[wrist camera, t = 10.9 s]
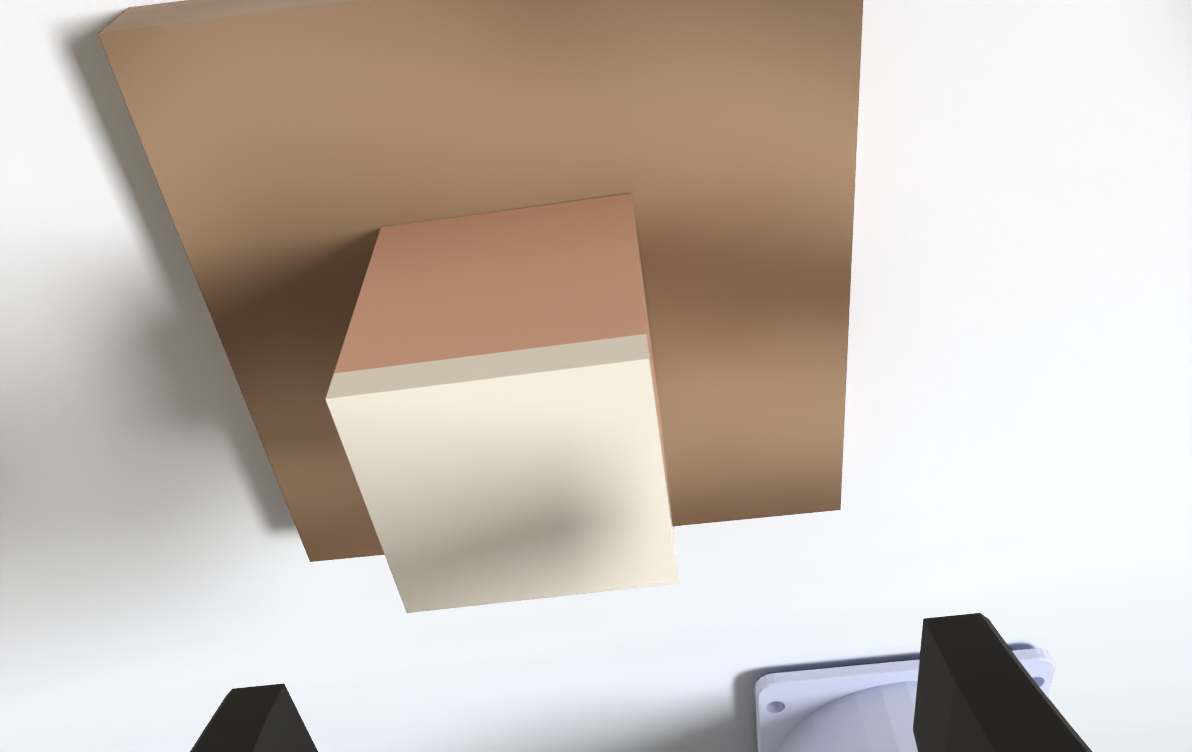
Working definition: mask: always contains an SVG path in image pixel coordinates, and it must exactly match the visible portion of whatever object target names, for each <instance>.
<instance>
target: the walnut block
mask: <svg viewBox="0 0 1192 752" xmlns="http://www.w3.org/2000/svg"><path fill="white" fill-rule="evenodd" d="M862 14H863V0H186V1H178V2H170V3H162V4H154V5H146V6H138V7H129V8H128V9H126V10H125V11H124V12H123V13H122V14H121V15H119V16H118V17H117V18H116V19H115V20H114V21H112V22H111V23H110V24H109V25H108V26H107V27H105V28H104V29H103V30H102V31H101V32H100V33H98V36H99V38H100V41H101V43H102V46H103V48H104V51H105V53H106V55H107V58H108V60H109V63H110V65H111V68H112V70H113V73H114V75H115V78H116V80H117V83H118V85H119V88H120V90H121V93H122V95H123V98H124V100H125V103H126V105H127V108H128V110H129V113H130V115H131V118H132V120H133V123H134V125H135V128H136V130H137V133H138V135H139V138H140V140H141V143H142V145H143V147H144V150H145V152H146V155H147V157H148V160H149V162H150V165H151V167H152V170H153V172H154V175H155V177H156V180H157V182H158V185H159V187H160V190H161V192H162V195H163V197H164V200H165V202H166V205H167V207H168V210H169V212H170V215H171V217H172V220H173V222H174V225H175V227H176V230H177V232H178V235H179V237H180V239H181V242H182V244H183V247H184V249H185V252H186V254H187V257H188V259H189V262H190V264H191V267H192V269H193V272H194V274H195V277H196V279H197V282H198V284H199V287H200V289H201V292H202V294H203V297H204V299H205V302H206V304H207V307H208V309H209V312H210V314H211V317H212V319H213V322H214V324H215V327H216V329H217V331H218V334H219V336H220V339H221V341H222V344H223V346H224V349H225V351H226V354H227V356H228V359H229V361H230V364H231V366H232V369H233V371H234V374H235V376H236V379H237V381H238V384H239V386H240V389H241V391H242V394H243V396H244V399H245V401H246V404H247V406H248V409H249V411H250V414H251V416H252V419H253V421H254V424H255V426H256V428H257V431H258V433H259V436H260V438H261V441H262V443H263V446H264V448H265V451H266V453H267V456H268V458H269V461H270V463H271V466H272V468H273V471H274V473H275V476H276V478H277V481H278V483H279V486H280V488H281V491H282V493H283V496H284V498H285V501H286V503H287V506H288V508H289V511H290V513H291V516H292V518H293V520H294V523H295V525H296V528H297V530H298V533H299V535H300V538H301V540H302V543H303V545H304V548H305V550H306V553H307V555H308V558H309V560H310V562H313V561H323V560H334V559H344V558H354V557H364V556H374V555H385V554H384V552H383V549H382V546H381V544H380V541H379V538H378V536H377V533H376V531H375V528H374V525H373V523H372V520H371V517H370V515H369V512H368V509H367V507H366V504H365V502H364V499H363V496H362V494H361V491H360V488H359V486H358V483H357V481H356V478H355V475H354V473H353V470H352V467H351V465H350V462H349V460H348V457H347V454H346V452H345V449H344V446H343V444H342V441H341V439H340V436H339V433H338V431H337V428H336V425H335V423H334V420H333V418H332V415H331V412H330V410H329V407H328V404H327V402H326V396H327V393H328V390H329V387H330V384H331V381H332V377H333V374H334V371H335V368H336V365H337V362H338V359H339V356H340V353H341V350H342V346H343V343H344V340H345V337H346V334H347V331H348V328H349V325H350V322H351V319H352V315H353V312H354V309H355V306H356V303H357V300H358V297H359V294H360V291H361V288H362V285H363V281H364V278H365V275H366V272H367V269H368V266H369V263H370V260H371V257H372V254H373V250H374V247H375V244H376V241H377V238H378V235H379V232H380V229H381V227H388V226H395V225H403V224H410V223H417V222H425V221H432V220H439V219H447V218H454V217H461V216H469V215H476V214H483V213H491V212H498V211H505V210H513V209H520V208H527V207H535V206H542V205H549V204H557V203H564V202H571V201H578V200H586V199H593V198H600V197H608V196H615V195H622V194H630V193H632V200H633V208H634V215H635V223H636V231H637V238H638V246H639V253H640V261H641V269H642V276H643V284H644V291H645V299H646V306H647V314H648V322H649V329H650V337H651V344H652V352H653V360H654V367H655V375H656V382H657V390H658V398H659V407H660V416H661V425H662V434H663V443H664V452H665V461H666V470H667V479H668V488H669V497H670V506H671V515H672V524H673V526H680V525H690V524H701V523H711V522H721V521H731V520H741V519H752V518H762V517H772V516H782V515H792V514H803V513H813V512H823V511H833V510H840V507H841V484H842V462H843V439H844V417H845V395H846V372H847V350H848V327H849V305H850V283H851V260H852V238H853V216H854V193H855V171H856V148H857V126H858V104H859V81H860V59H861V37H862Z"/></svg>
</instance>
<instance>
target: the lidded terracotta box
mask: <svg viewBox="0 0 1192 752" xmlns="http://www.w3.org/2000/svg"><path fill="white" fill-rule="evenodd" d="M326 402H327V404H328V407H329V410H330V412H331V415H332V418H333V420H334V423H335V425H336V428H337V431H338V433H339V436H340V439H341V441H342V444H343V446H344V449H345V452H346V454H347V457H348V460H349V462H350V465H351V467H352V470H353V473H354V475H355V478H356V481H357V483H358V486H359V488H360V491H361V494H362V496H363V499H364V502H365V504H366V507H367V509H368V512H369V515H370V517H371V520H372V523H373V525H374V528H375V531H376V533H377V536H378V538H379V541H380V544H381V546H382V549H383V552H384V554H385V557H386V559H387V562H388V565H389V567H390V570H391V573H392V575H393V578H394V580H395V583H396V586H397V588H398V591H399V594H400V596H401V599H402V601H403V604H404V607H405V609H406V612H407V613H411V612H420V611H429V610H439V609H448V608H457V607H466V606H475V605H484V604H493V603H502V602H512V601H521V600H530V599H539V598H548V597H557V596H566V595H575V594H585V593H594V592H603V591H612V590H621V589H630V588H639V587H648V586H658V585H667V584H676V583H679V577H678V568H677V559H676V551H675V542H674V533H673V524H672V515H671V506H670V497H669V488H668V479H667V470H666V461H665V452H664V443H663V434H662V425H661V416H660V407H659V398H658V390H657V382H656V375H655V367H654V360H653V352H652V344H651V337H650V329H649V322H648V314H647V306H646V299H645V291H644V284H643V276H642V269H641V261H640V253H639V246H638V238H637V231H636V223H635V215H634V208H633V200H632V193H630V194H622V195H615V196H608V197H600V198H593V199H586V200H578V201H571V202H564V203H557V204H549V205H542V206H535V207H527V208H520V209H513V210H505V211H498V212H491V213H483V214H476V215H469V216H461V217H454V218H447V219H439V220H432V221H425V222H417V223H410V224H403V225H395V226H388V227H381V229H380V232H379V235H378V238H377V241H376V244H375V247H374V250H373V254H372V257H371V260H370V263H369V266H368V269H367V272H366V275H365V278H364V281H363V285H362V288H361V291H360V294H359V297H358V300H357V303H356V306H355V309H354V312H353V315H352V319H351V322H350V325H349V328H348V331H347V334H346V337H345V340H344V343H343V346H342V350H341V353H340V356H339V359H338V362H337V365H336V368H335V371H334V374H333V377H332V381H331V384H330V387H329V390H328V393H327V396H326Z"/></svg>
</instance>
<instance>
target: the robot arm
mask: <svg viewBox="0 0 1192 752" xmlns="http://www.w3.org/2000/svg"><path fill="white" fill-rule="evenodd" d="M1054 671H1055V663H1054V661H1053V659H1052V657H1051V654H1050V653H1049V652H1048V651H1046V650H1043V649H1023V650H1013V651H1012V650H1011V649H1010V648H1009V646H1008V645H1007V644H1006V642H1005V641H1004V640H1003V638H1002V637H1001V636H1000V634H999V633H998V631H997V630H996V629H995V627H994V626H993V624H992V623H991V622H990V620H989V619H988V618H986V617H985V616H983V615H982V614H981V613H975V614H966V615H956V616H946V617H936V618H926V619H923V629H922V640H921V650H920V659H918V660H908V661H897V662H887V663H876V664H866V665H855V666H845V667H834V668H824V669H813V670H803V671H792V672H781V673H772V674H767V675H765V676H763V677H761V678H760V679H759V680H758V681H757V682H756V685H755V700H756V722H757V745H758V752H1092V751H1091V749H1090V748H1089V747H1088V746H1087V745H1086V744H1085V742H1084V741H1083V740H1082V739H1081V738H1080V736H1079V735H1078V734H1077V733H1076V732H1075V730H1074V729H1073V728H1072V727H1071V726H1070V724H1069V723H1068V722H1067V721H1066V719H1065V718H1064V717H1063V716H1062V714H1061V713H1060V712H1059V711H1058V709H1057V708H1056V707H1055V706H1054V705H1053V703H1052V702H1051V701H1050V700H1049V698H1048V697H1049V693H1050V688H1051V684H1052V680H1053V676H1054ZM190 752H318V751H317V749H316V747H315V745H314V743H313V741H312V739H311V737H310V735H309V733H308V731H307V729H306V727H305V725H304V723H303V721H302V719H301V717H300V715H299V713H298V711H297V709H296V707H295V705H294V703H293V701H292V699H291V697H290V695H289V693H288V691H287V689H286V686H285V684H276V685H266V686H256V687H246V688H236V689H232V690H231V691H230V692H229V693H228V694H227V696H226V697H225V699H224V700H223V702H222V703H221V705H220V706H219V708H218V709H217V711H216V712H215V714H214V715H213V717H212V719H211V720H210V722H209V723H208V725H207V726H206V728H205V729H204V731H203V733H202V734H201V736H200V737H199V739H198V740H197V742H196V743H195V745H194V747H193V748H192V750H191V751H190Z"/></svg>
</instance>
